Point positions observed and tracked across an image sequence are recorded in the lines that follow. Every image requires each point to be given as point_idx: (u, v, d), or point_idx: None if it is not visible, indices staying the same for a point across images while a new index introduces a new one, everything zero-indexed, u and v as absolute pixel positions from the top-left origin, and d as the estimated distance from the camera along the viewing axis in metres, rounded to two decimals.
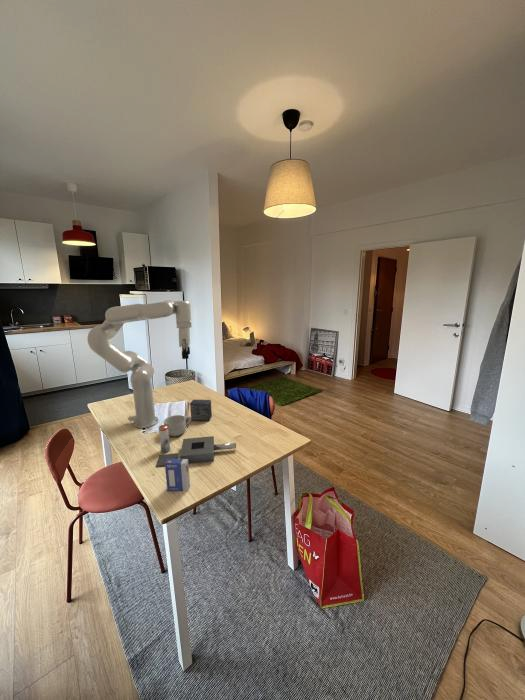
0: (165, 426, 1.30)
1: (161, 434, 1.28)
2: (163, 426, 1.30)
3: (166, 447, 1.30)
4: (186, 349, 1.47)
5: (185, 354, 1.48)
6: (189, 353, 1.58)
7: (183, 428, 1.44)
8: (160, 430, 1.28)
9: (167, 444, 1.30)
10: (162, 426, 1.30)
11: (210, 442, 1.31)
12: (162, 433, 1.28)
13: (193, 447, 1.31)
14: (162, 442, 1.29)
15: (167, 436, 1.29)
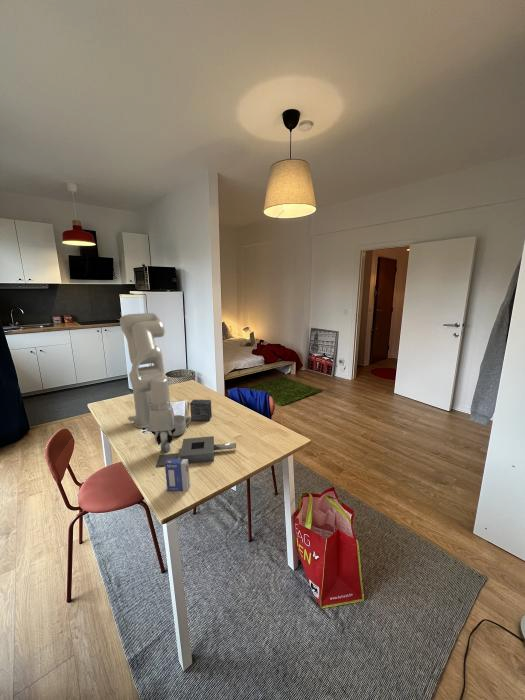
0: None
1: (161, 434, 1.28)
2: None
3: (166, 447, 1.30)
4: None
5: None
6: None
7: (183, 428, 1.44)
8: None
9: (167, 444, 1.30)
10: None
11: (210, 442, 1.31)
12: (162, 433, 1.28)
13: (193, 447, 1.31)
14: (162, 442, 1.29)
15: (167, 436, 1.29)
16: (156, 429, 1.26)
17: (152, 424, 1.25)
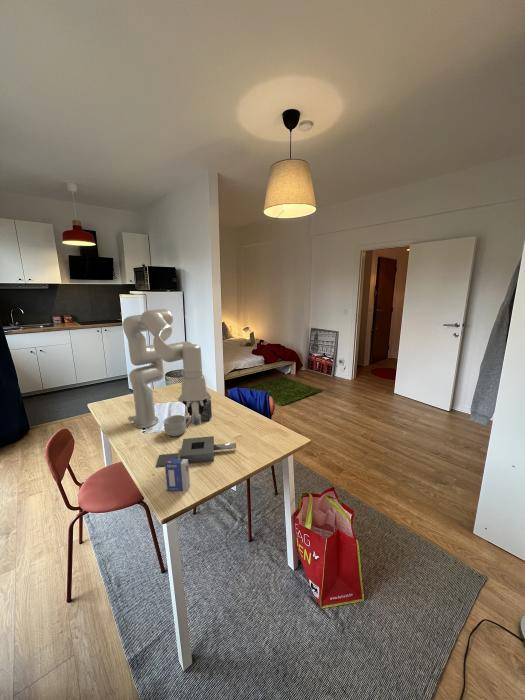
0: None
1: (193, 404, 1.22)
2: None
3: (197, 418, 1.24)
4: None
5: None
6: None
7: (183, 428, 1.44)
8: None
9: (198, 415, 1.24)
10: None
11: (210, 442, 1.31)
12: (194, 403, 1.22)
13: (193, 447, 1.31)
14: (193, 413, 1.23)
15: (199, 407, 1.23)
16: (188, 399, 1.20)
17: (184, 393, 1.20)
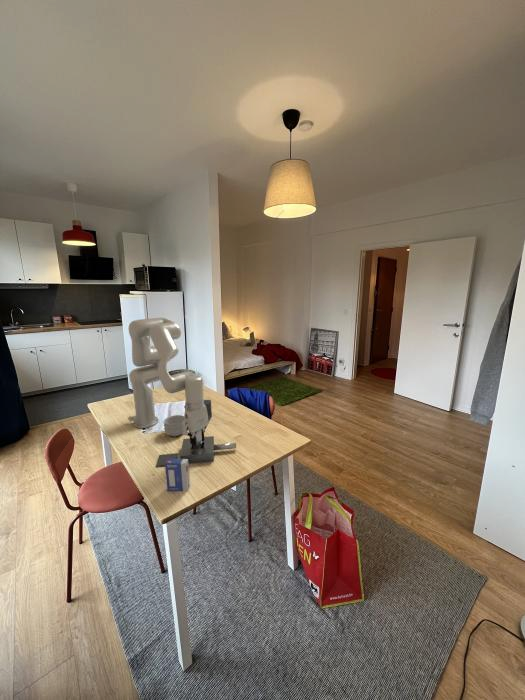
0: None
1: (198, 433, 1.25)
2: None
3: (201, 446, 1.28)
4: (201, 428, 1.30)
5: None
6: None
7: (183, 428, 1.44)
8: None
9: None
10: None
11: (210, 442, 1.31)
12: (199, 431, 1.26)
13: None
14: (198, 442, 1.26)
15: (201, 434, 1.28)
16: (196, 429, 1.23)
17: (192, 425, 1.21)
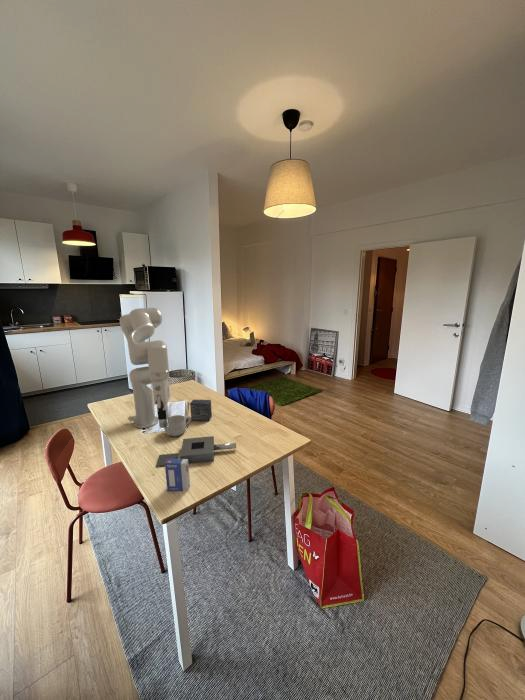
0: None
1: (166, 405, 1.18)
2: None
3: None
4: None
5: None
6: None
7: (183, 428, 1.44)
8: None
9: None
10: None
11: (210, 442, 1.31)
12: (167, 403, 1.19)
13: (193, 447, 1.31)
14: (167, 414, 1.19)
15: None
16: (167, 399, 1.16)
17: (166, 395, 1.14)
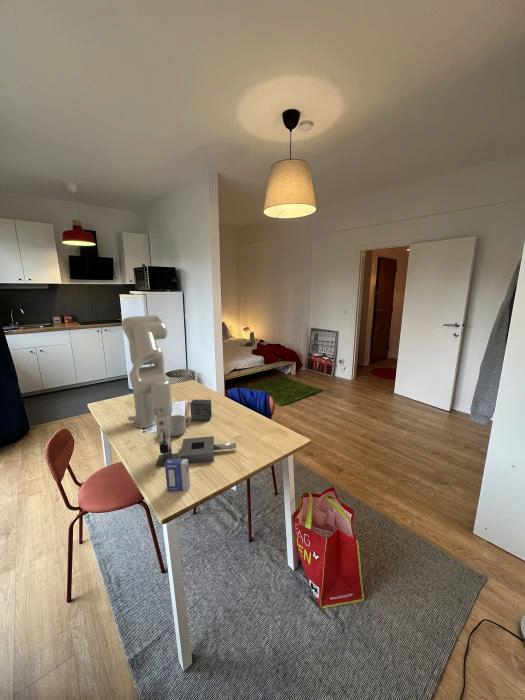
0: None
1: (169, 440, 1.22)
2: None
3: None
4: None
5: None
6: None
7: (183, 428, 1.44)
8: None
9: None
10: None
11: (210, 442, 1.31)
12: None
13: (193, 447, 1.31)
14: (170, 448, 1.23)
15: None
16: (170, 433, 1.20)
17: (169, 429, 1.18)
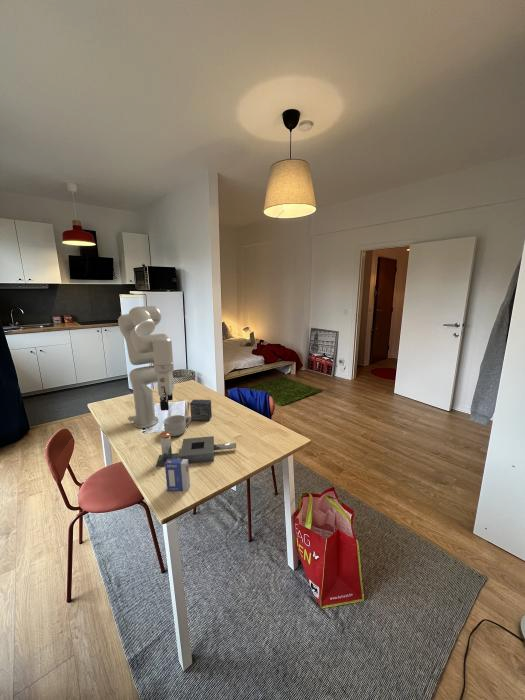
0: (165, 432, 1.23)
1: (169, 440, 1.22)
2: (164, 434, 1.22)
3: None
4: None
5: None
6: (161, 408, 1.19)
7: (183, 428, 1.44)
8: (169, 436, 1.21)
9: None
10: (164, 434, 1.21)
11: (210, 442, 1.31)
12: (170, 437, 1.23)
13: (193, 447, 1.31)
14: (170, 448, 1.23)
15: None
16: (171, 391, 1.20)
17: (170, 387, 1.18)
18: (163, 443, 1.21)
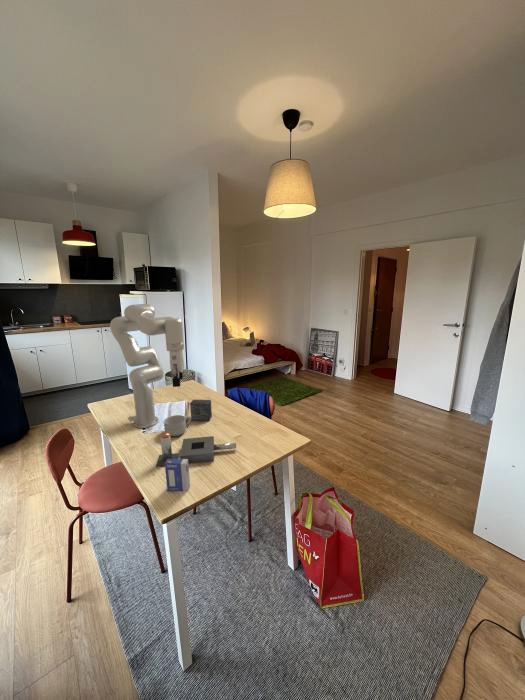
0: (165, 432, 1.23)
1: (169, 440, 1.22)
2: (164, 433, 1.22)
3: None
4: None
5: None
6: None
7: (183, 428, 1.44)
8: (169, 436, 1.21)
9: None
10: (164, 434, 1.21)
11: (210, 442, 1.31)
12: (170, 437, 1.23)
13: (193, 447, 1.31)
14: (170, 448, 1.23)
15: None
16: (182, 369, 1.28)
17: (181, 364, 1.26)
18: (163, 443, 1.21)
